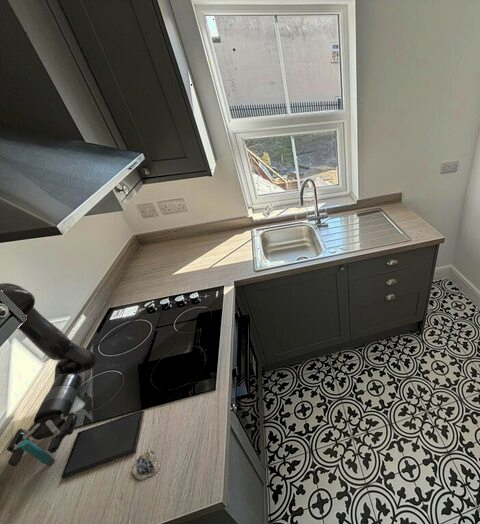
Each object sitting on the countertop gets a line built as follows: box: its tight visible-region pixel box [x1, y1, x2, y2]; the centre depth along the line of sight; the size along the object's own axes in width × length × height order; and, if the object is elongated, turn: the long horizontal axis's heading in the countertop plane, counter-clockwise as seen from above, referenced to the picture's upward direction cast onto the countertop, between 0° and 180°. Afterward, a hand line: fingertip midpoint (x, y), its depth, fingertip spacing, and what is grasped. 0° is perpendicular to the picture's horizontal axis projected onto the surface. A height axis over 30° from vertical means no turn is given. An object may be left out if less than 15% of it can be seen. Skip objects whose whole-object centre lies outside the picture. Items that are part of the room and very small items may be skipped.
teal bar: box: [18, 439, 56, 467], centre depth 81 cm, size 2×2×12 cm
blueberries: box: [131, 450, 161, 481], centre depth 82 cm, size 7×8×2 cm
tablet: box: [60, 410, 145, 480], centre depth 88 cm, size 18×13×1 cm
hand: (32, 458), depth 79 cm, fingers open, 8 cm apart
